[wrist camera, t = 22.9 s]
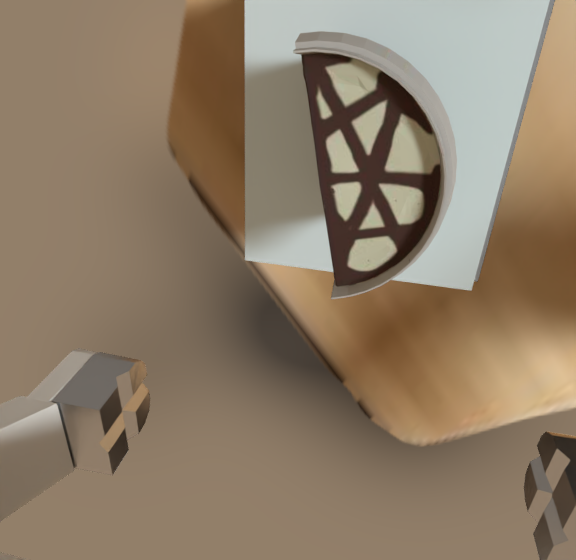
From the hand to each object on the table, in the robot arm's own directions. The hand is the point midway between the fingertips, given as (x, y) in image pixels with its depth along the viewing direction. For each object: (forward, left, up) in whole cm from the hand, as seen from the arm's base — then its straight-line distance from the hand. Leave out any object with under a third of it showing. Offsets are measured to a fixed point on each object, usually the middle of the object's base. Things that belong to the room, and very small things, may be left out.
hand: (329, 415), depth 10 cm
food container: (-1, -1, -23) cm, 23 cm away
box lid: (+1, 0, -24) cm, 24 cm away
